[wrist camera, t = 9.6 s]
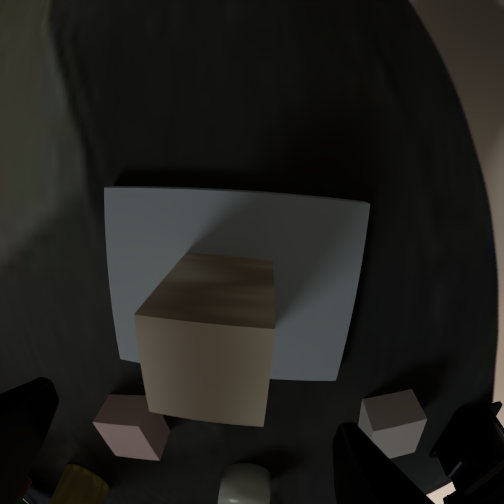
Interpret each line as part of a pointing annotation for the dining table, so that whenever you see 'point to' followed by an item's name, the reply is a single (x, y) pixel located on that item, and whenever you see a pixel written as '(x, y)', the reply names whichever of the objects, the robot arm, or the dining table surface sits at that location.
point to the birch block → (209, 339)
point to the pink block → (132, 427)
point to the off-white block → (393, 422)
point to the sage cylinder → (244, 484)
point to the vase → (80, 487)
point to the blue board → (244, 245)
